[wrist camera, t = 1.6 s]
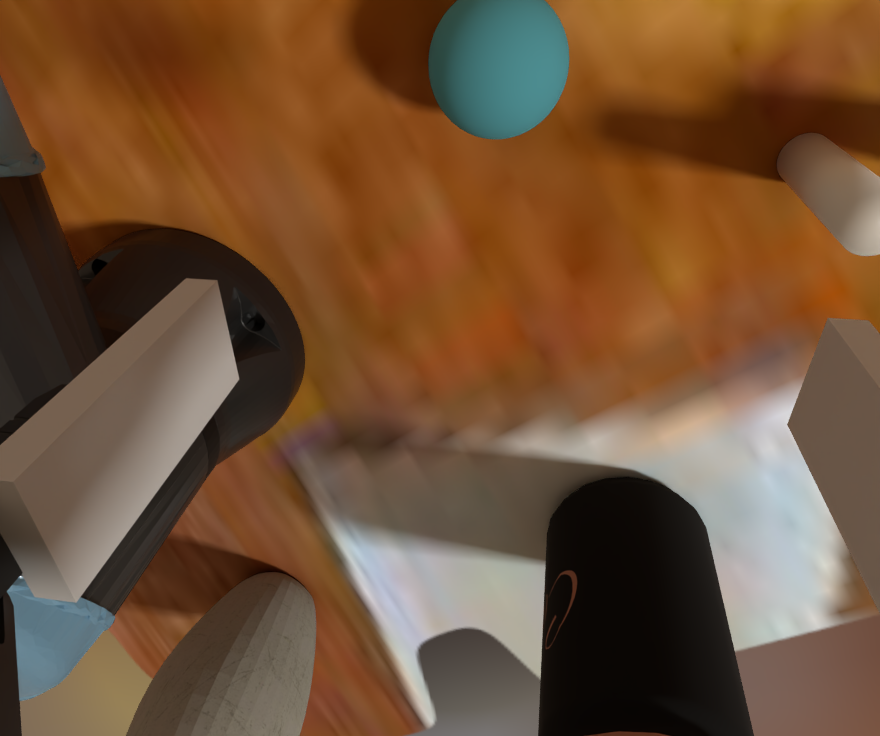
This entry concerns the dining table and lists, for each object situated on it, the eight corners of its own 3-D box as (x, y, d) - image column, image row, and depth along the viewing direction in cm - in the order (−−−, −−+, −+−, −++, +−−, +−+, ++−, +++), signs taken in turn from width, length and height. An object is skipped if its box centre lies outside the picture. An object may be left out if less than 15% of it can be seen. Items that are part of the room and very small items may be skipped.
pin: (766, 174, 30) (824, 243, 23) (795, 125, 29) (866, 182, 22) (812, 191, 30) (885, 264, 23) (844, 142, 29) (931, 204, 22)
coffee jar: (547, 465, 43) (533, 736, 28) (714, 473, 41) (794, 770, 26) (548, 569, 49) (537, 840, 34) (694, 580, 47) (750, 874, 32)
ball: (427, 99, 31) (400, 128, 26) (462, -40, 28) (438, -37, 23) (541, 139, 31) (535, 174, 26) (590, 5, 28) (594, 18, 23)
